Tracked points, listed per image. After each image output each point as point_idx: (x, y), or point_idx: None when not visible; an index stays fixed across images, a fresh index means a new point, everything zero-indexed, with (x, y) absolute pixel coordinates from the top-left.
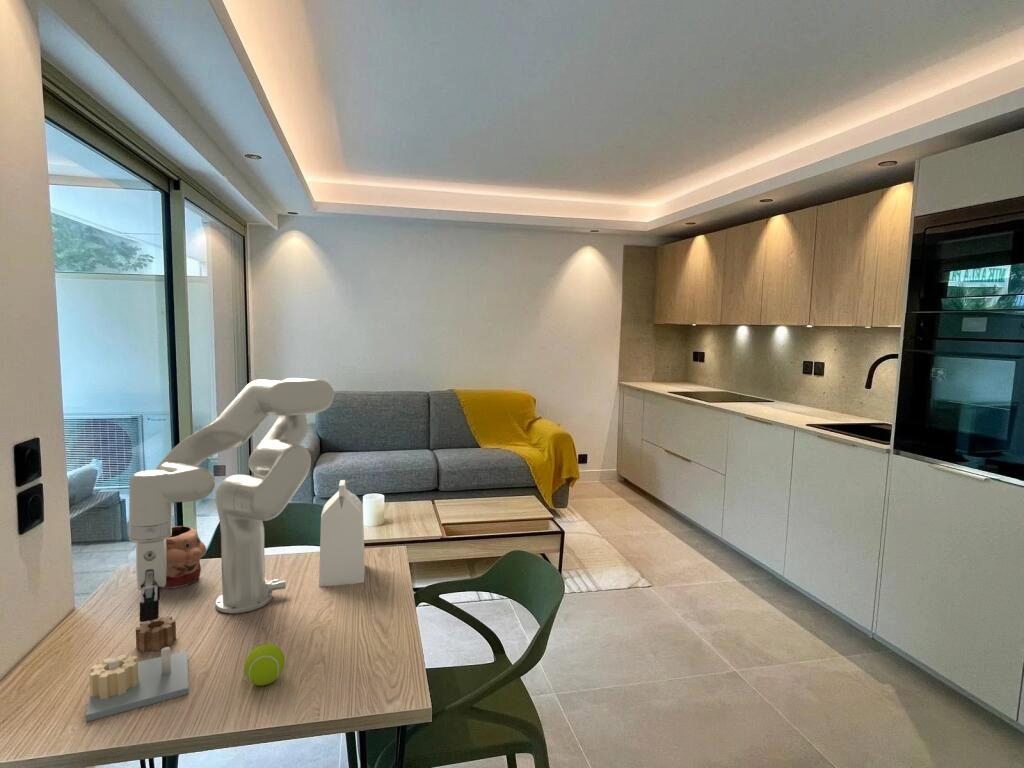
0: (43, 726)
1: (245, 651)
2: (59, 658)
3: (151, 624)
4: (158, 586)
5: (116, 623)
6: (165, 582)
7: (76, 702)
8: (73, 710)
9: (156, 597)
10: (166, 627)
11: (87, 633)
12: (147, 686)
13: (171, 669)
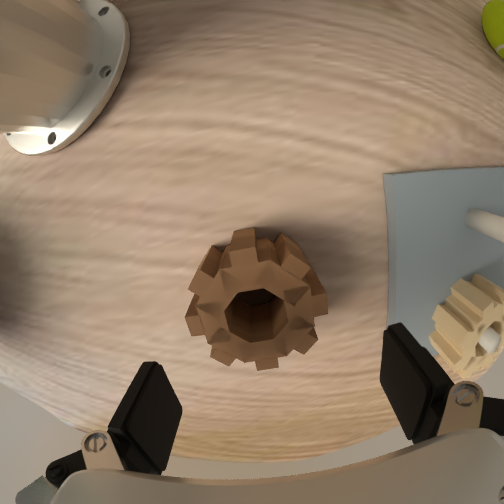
0: None
1: (395, 30)
2: (259, 436)
3: (236, 330)
4: (135, 418)
5: (120, 385)
6: (477, 450)
7: None
8: None
9: (482, 396)
10: (302, 272)
11: None
12: (492, 249)
13: (463, 208)
